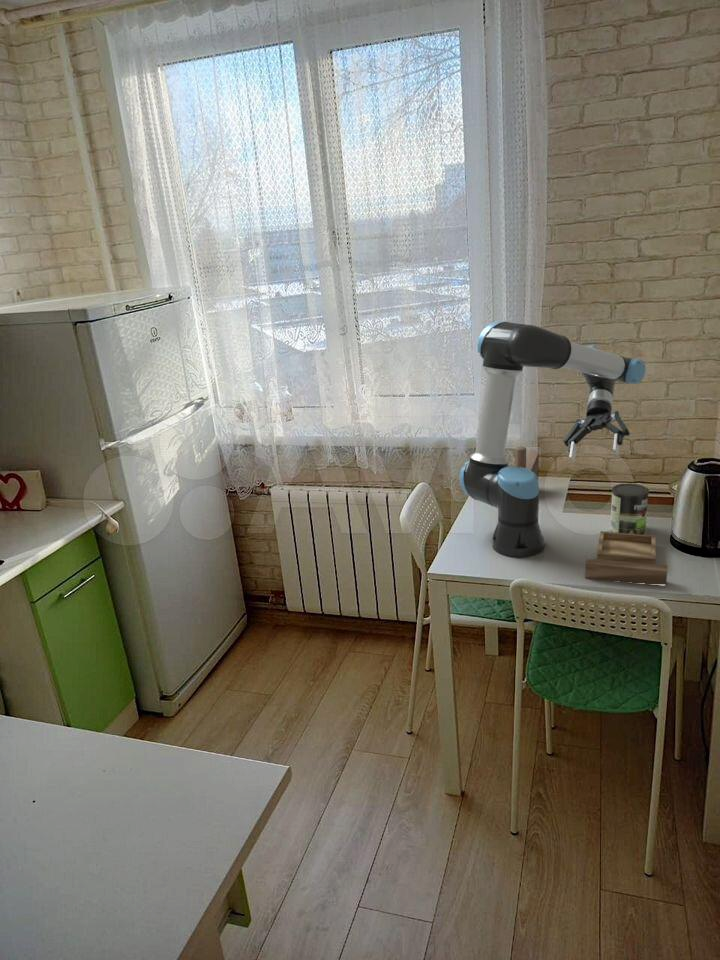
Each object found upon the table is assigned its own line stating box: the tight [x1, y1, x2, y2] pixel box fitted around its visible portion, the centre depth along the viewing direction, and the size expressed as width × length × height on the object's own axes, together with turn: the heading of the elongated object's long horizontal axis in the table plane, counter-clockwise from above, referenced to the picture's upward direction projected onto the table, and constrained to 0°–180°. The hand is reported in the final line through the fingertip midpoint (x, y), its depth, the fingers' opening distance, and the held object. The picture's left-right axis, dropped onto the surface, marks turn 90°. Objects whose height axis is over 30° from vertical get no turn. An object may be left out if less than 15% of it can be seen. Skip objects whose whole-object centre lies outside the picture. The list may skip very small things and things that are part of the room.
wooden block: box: [515, 446, 540, 478], centre depth 247 cm, size 4×11×18 cm, turn 136°
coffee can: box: [609, 483, 650, 535], centre depth 213 cm, size 10×10×14 cm
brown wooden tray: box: [596, 530, 657, 565], centre depth 202 cm, size 15×15×3 cm
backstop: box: [584, 557, 668, 585], centre depth 188 cm, size 3×20×5 cm, turn 69°
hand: (593, 456), depth 218 cm, fingers open, 13 cm apart
